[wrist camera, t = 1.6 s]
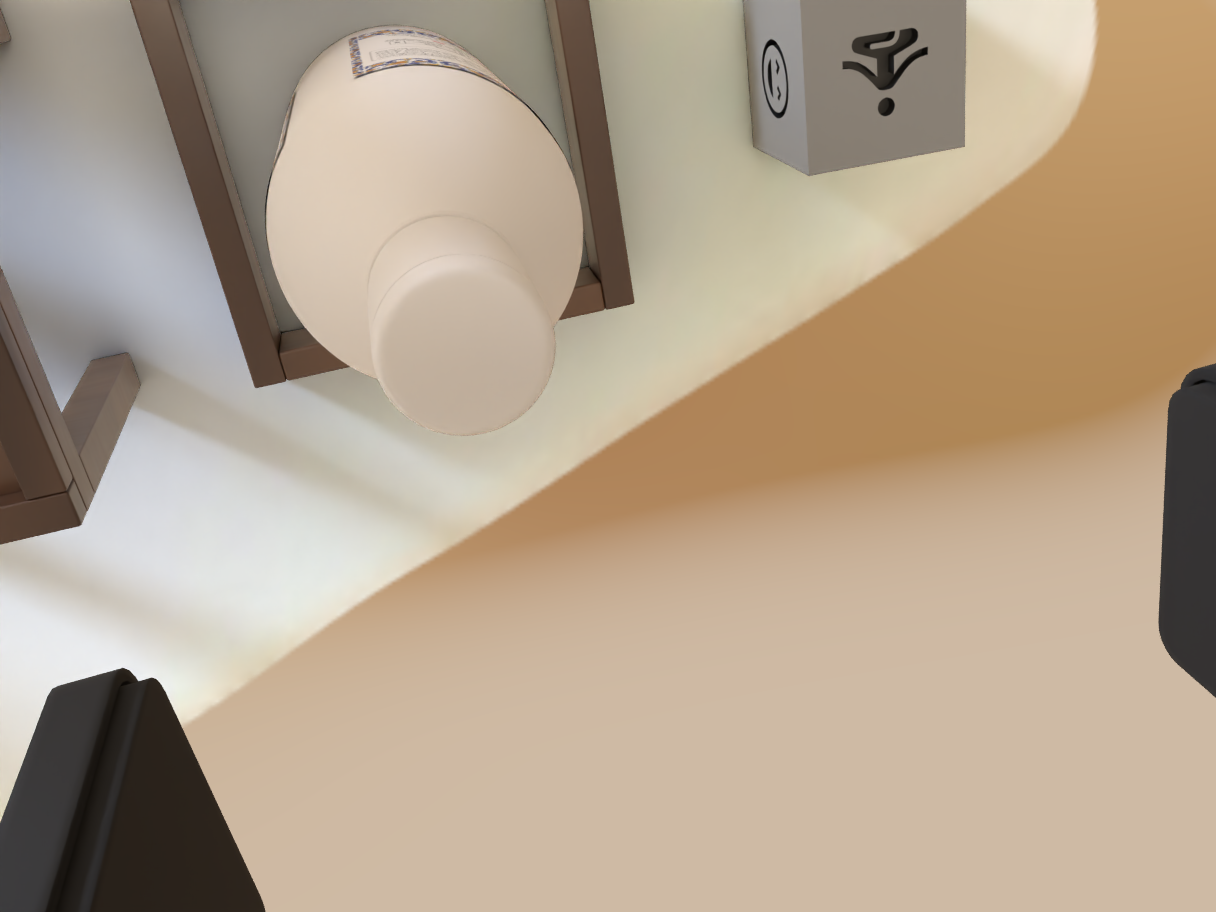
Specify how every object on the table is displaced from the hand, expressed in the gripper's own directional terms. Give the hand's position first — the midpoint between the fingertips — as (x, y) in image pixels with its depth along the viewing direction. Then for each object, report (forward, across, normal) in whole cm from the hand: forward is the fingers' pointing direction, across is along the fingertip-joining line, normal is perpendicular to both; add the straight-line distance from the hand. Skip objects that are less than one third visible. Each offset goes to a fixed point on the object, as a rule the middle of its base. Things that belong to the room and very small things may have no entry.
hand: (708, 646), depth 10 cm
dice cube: (+29, -13, 0) cm, 32 cm away
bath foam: (+29, +1, 0) cm, 29 cm away
